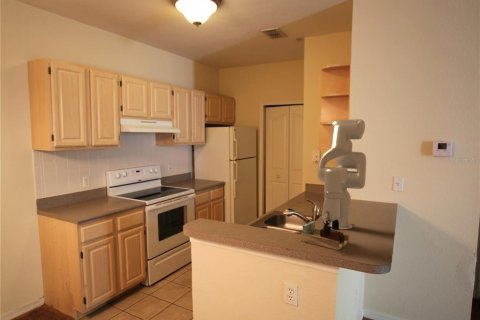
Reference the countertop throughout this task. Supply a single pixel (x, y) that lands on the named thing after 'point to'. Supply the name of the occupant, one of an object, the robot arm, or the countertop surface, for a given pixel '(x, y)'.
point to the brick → (333, 235)
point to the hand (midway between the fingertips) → (331, 232)
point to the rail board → (313, 237)
